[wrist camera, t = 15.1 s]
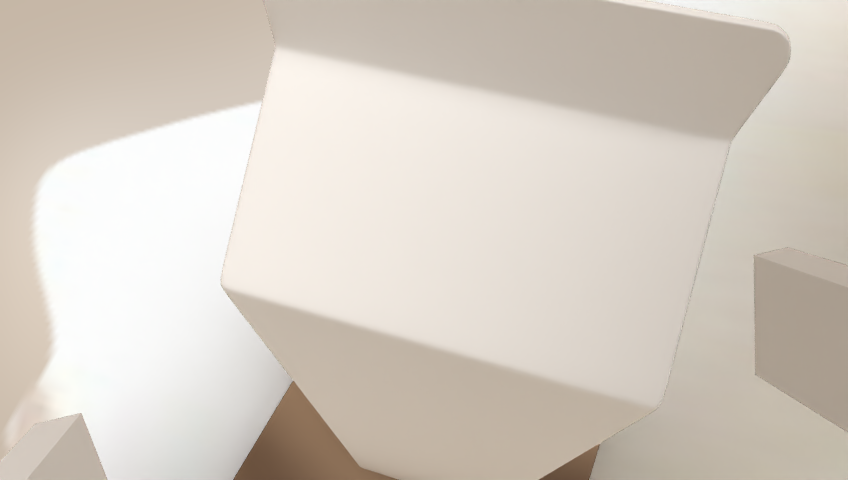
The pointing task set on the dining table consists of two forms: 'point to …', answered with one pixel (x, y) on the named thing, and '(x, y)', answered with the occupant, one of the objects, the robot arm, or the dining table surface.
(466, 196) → the milk
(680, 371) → the dining table surface
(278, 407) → the walnut board
